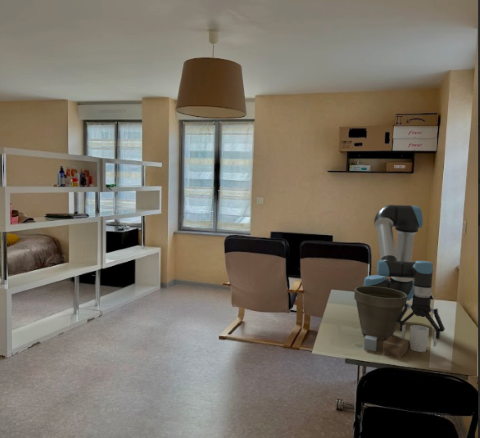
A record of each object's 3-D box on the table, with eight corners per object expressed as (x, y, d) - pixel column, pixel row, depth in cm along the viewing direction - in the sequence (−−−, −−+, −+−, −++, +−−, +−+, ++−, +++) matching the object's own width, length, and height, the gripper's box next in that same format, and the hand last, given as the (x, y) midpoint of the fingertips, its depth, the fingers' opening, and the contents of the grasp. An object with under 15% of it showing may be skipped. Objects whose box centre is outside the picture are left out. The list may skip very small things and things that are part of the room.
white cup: (416, 353, 192) (417, 331, 191) (404, 346, 200) (406, 325, 199) (431, 352, 194) (432, 330, 193) (419, 345, 202) (421, 324, 201)
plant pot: (415, 339, 211) (418, 295, 209) (379, 346, 199) (382, 299, 197) (376, 324, 233) (378, 284, 231) (341, 330, 220) (343, 287, 219)
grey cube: (364, 349, 194) (364, 338, 194) (365, 346, 199) (365, 335, 198) (375, 351, 192) (376, 340, 192) (376, 347, 197) (377, 337, 197)
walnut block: (382, 353, 190) (383, 342, 189) (390, 346, 199) (390, 336, 198) (400, 357, 185) (400, 346, 185) (407, 350, 194) (407, 339, 194)
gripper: (391, 292, 199) (388, 337, 201) (450, 302, 185) (447, 351, 186) (395, 289, 206) (393, 334, 207) (453, 299, 191) (450, 346, 192)
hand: (418, 342), depth 196 cm, fingers open, 13 cm apart
